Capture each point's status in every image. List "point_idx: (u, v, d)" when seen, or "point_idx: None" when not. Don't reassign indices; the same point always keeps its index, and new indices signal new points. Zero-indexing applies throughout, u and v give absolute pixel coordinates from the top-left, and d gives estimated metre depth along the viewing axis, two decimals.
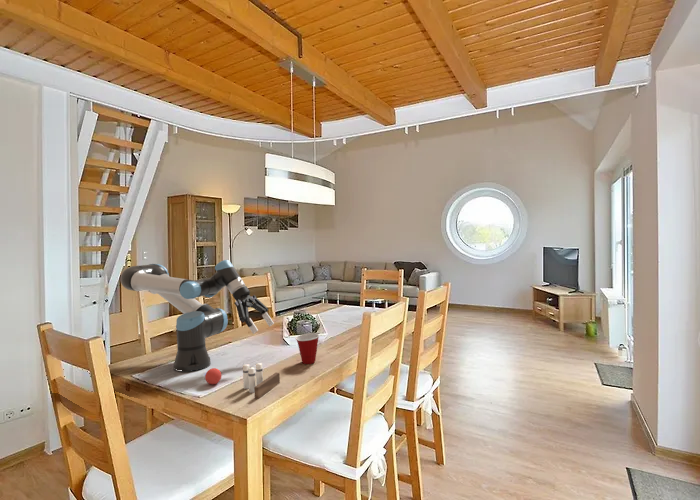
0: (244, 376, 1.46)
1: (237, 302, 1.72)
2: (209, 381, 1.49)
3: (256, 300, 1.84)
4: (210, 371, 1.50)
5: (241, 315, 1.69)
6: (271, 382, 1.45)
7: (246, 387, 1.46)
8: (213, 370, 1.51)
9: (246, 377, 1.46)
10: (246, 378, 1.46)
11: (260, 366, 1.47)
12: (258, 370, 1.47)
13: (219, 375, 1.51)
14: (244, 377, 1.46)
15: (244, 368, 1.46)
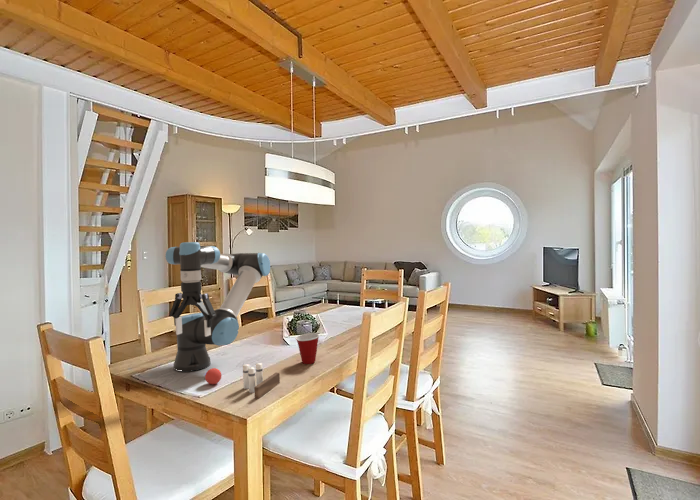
0: (244, 376, 1.46)
1: None
2: (209, 381, 1.49)
3: (203, 301, 1.51)
4: (210, 371, 1.50)
5: None
6: (271, 382, 1.45)
7: (246, 387, 1.46)
8: (213, 370, 1.51)
9: (246, 377, 1.46)
10: (246, 378, 1.46)
11: (260, 366, 1.47)
12: (258, 370, 1.47)
13: (219, 375, 1.51)
14: (244, 377, 1.46)
15: (244, 368, 1.46)
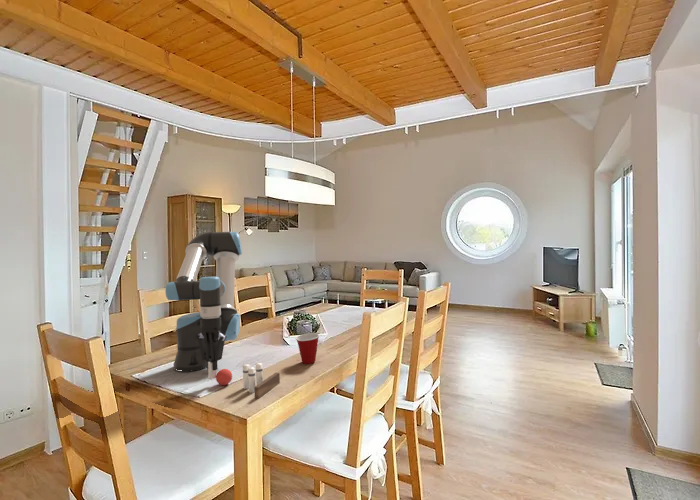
0: (244, 376, 1.46)
1: None
2: (217, 380, 1.48)
3: (218, 341, 1.48)
4: (227, 377, 1.49)
5: None
6: (271, 382, 1.45)
7: (246, 387, 1.46)
8: (229, 378, 1.49)
9: (246, 377, 1.46)
10: (246, 378, 1.46)
11: (260, 366, 1.47)
12: (258, 370, 1.47)
13: (226, 384, 1.50)
14: (244, 377, 1.46)
15: (244, 368, 1.46)
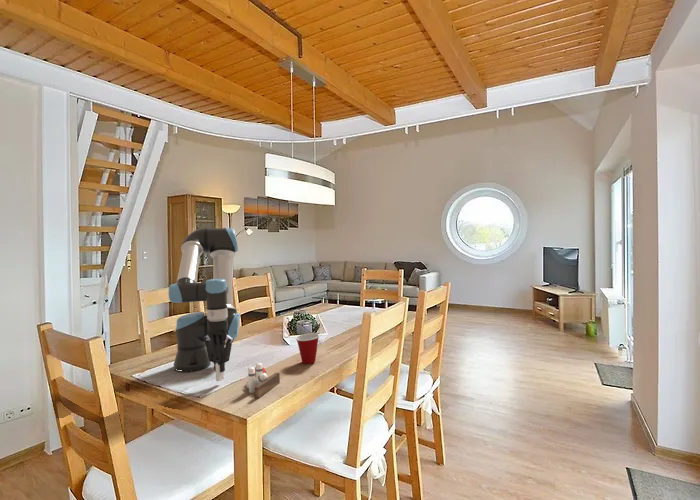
0: (255, 381, 1.44)
1: None
2: None
3: (226, 344, 1.48)
4: None
5: None
6: (271, 382, 1.45)
7: (248, 387, 1.46)
8: None
9: (256, 383, 1.45)
10: (255, 383, 1.45)
11: (260, 366, 1.47)
12: (258, 370, 1.47)
13: None
14: None
15: (262, 378, 1.44)
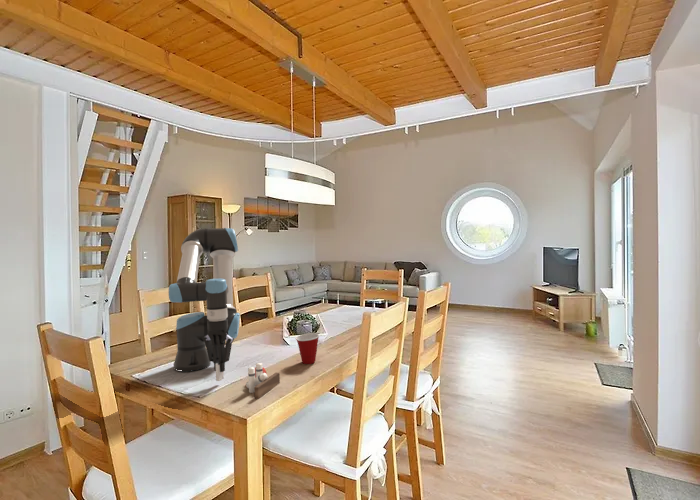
0: (255, 381, 1.44)
1: None
2: None
3: (226, 344, 1.48)
4: None
5: None
6: (271, 382, 1.45)
7: (248, 387, 1.46)
8: None
9: (256, 383, 1.45)
10: (255, 383, 1.45)
11: (260, 366, 1.47)
12: (258, 370, 1.47)
13: None
14: None
15: (262, 378, 1.44)
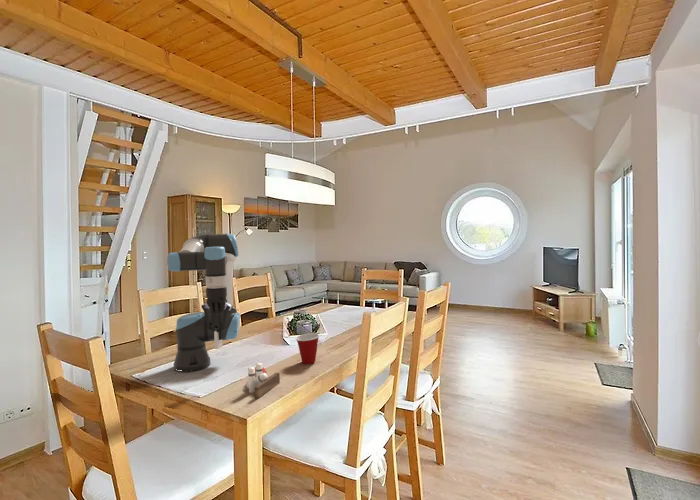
0: (255, 381, 1.44)
1: None
2: None
3: None
4: None
5: None
6: (271, 382, 1.45)
7: (248, 387, 1.46)
8: None
9: (256, 383, 1.45)
10: (255, 383, 1.45)
11: (260, 366, 1.47)
12: (258, 370, 1.47)
13: None
14: None
15: (262, 378, 1.44)
